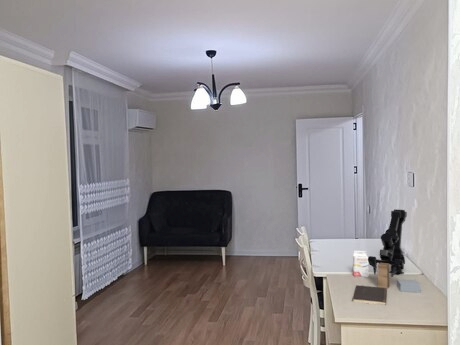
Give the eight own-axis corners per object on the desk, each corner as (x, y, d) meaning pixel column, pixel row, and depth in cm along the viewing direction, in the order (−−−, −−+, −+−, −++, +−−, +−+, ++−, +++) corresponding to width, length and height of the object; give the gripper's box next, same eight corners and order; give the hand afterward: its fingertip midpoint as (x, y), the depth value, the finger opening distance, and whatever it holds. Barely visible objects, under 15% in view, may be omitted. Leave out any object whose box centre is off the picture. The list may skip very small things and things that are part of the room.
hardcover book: (352, 302, 231) (352, 298, 231) (356, 289, 253) (356, 285, 253) (386, 306, 226) (386, 301, 226) (386, 292, 248) (386, 287, 247)
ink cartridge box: (354, 276, 276) (354, 252, 275) (352, 274, 281) (352, 250, 280) (368, 276, 275) (368, 252, 274) (367, 274, 280) (367, 250, 279)
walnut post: (380, 285, 258) (380, 262, 257) (389, 286, 255) (389, 263, 254) (377, 287, 254) (377, 264, 253) (387, 289, 251) (387, 265, 250)
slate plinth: (396, 286, 256) (396, 279, 256) (415, 286, 254) (415, 279, 254) (400, 291, 246) (400, 284, 246) (420, 292, 245) (420, 285, 244)
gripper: (368, 242, 261) (363, 265, 253) (403, 245, 252) (398, 269, 243) (372, 253, 269) (367, 276, 260) (405, 256, 259) (401, 280, 250)
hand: (383, 275), depth 253 cm, fingers open, 9 cm apart
